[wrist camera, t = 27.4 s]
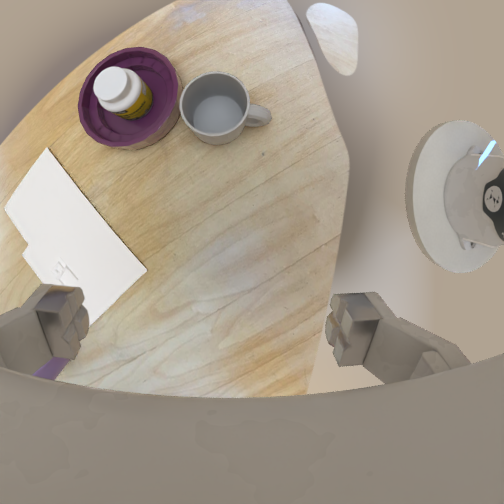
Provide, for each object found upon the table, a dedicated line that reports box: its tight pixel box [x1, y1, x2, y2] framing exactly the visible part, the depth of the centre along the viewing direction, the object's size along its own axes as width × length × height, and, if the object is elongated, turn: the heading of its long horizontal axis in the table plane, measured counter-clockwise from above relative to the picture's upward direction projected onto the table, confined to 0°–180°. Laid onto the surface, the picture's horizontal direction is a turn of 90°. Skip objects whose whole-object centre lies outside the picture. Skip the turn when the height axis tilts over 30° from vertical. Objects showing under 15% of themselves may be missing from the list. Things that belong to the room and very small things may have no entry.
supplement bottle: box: [93, 67, 154, 121], centre depth 30 cm, size 5×5×10 cm
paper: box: [4, 148, 147, 326], centre depth 39 cm, size 25×17×1 cm
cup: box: [180, 71, 272, 145], centre depth 33 cm, size 7×10×9 cm
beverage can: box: [32, 357, 70, 380], centre depth 36 cm, size 6×6×15 cm
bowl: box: [78, 47, 183, 150], centre depth 33 cm, size 13×13×5 cm
